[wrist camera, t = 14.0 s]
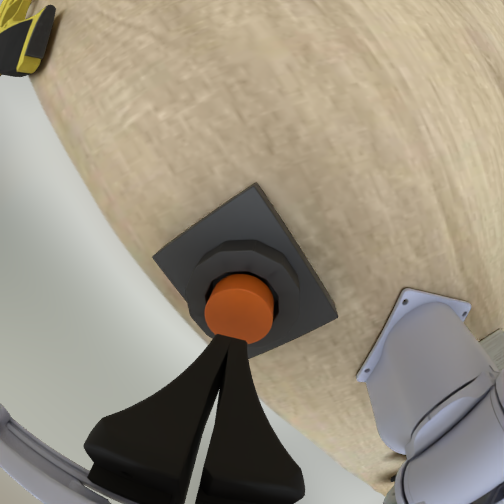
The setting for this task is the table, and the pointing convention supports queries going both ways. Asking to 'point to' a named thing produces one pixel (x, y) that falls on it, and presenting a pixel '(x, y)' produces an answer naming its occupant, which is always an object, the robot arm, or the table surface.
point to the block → (248, 266)
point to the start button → (240, 308)
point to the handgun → (23, 37)
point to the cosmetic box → (495, 348)
